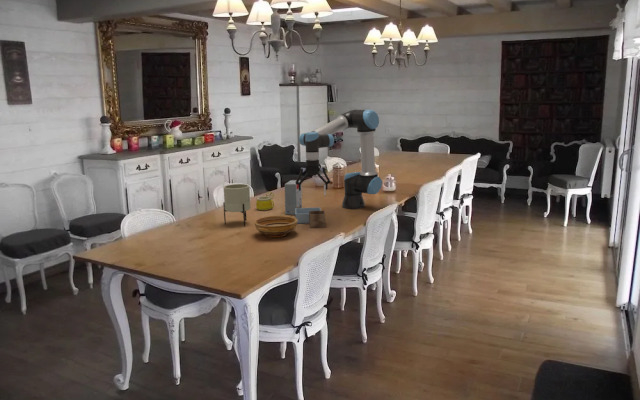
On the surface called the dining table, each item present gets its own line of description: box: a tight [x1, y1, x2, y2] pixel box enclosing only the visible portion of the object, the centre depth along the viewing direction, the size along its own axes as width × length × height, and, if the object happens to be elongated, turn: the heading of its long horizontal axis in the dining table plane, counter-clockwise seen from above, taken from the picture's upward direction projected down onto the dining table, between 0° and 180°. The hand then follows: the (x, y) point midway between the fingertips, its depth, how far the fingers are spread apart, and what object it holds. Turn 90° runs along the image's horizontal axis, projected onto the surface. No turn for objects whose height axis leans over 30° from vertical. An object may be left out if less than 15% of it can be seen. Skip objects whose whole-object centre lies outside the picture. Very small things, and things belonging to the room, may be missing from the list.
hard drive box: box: [284, 179, 303, 216], centre depth 347 cm, size 16×8×20 cm, turn 168°
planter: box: [223, 183, 251, 227], centre depth 321 cm, size 15×16×23 cm
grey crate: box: [294, 207, 322, 225], centre depth 327 cm, size 16×16×6 cm
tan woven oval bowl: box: [253, 215, 298, 238], centre depth 297 cm, size 30×24×8 cm
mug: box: [255, 191, 275, 211], centre depth 358 cm, size 13×11×12 cm
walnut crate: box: [309, 210, 326, 229], centre depth 313 cm, size 9×9×8 cm
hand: (313, 195), depth 312 cm, fingers open, 13 cm apart
